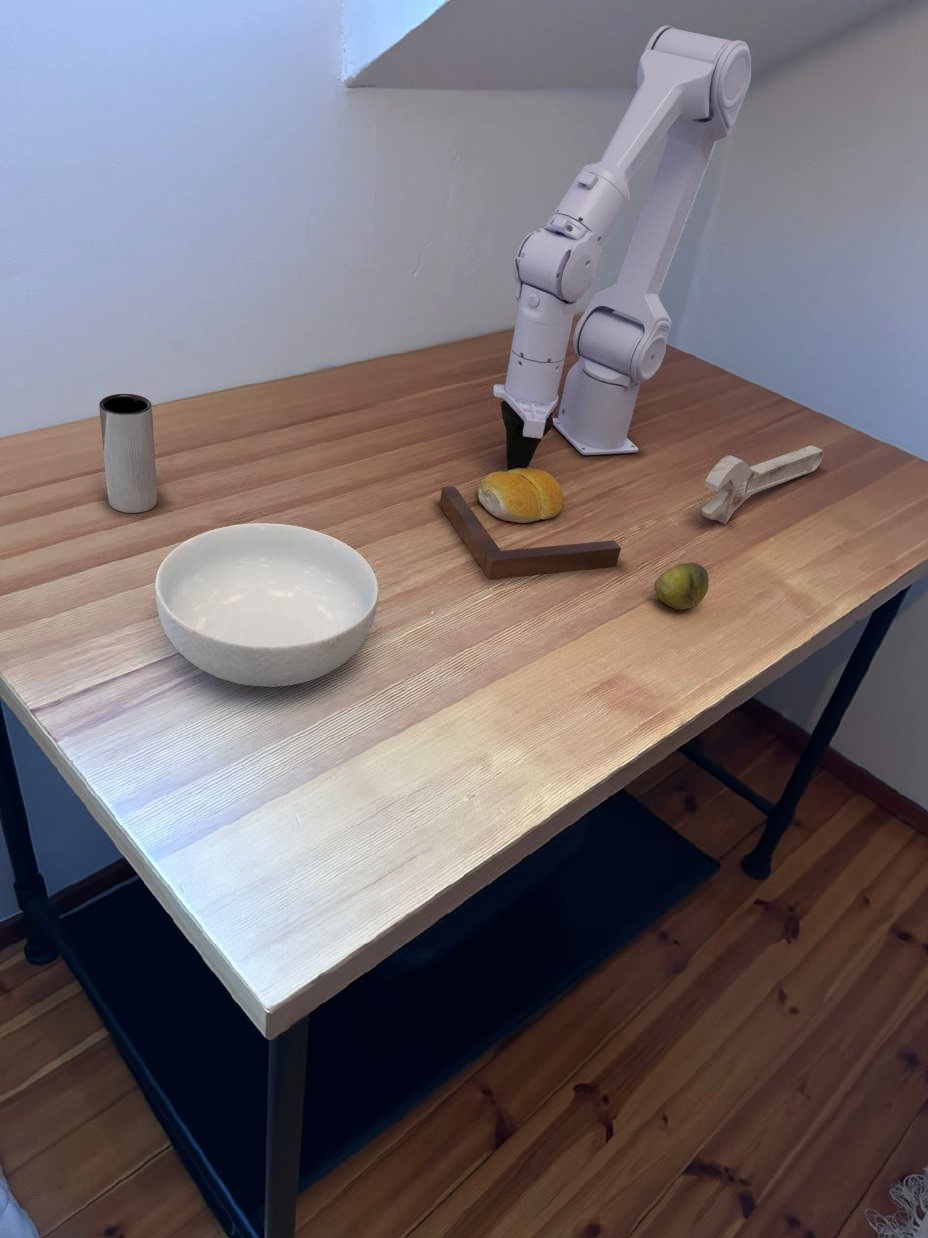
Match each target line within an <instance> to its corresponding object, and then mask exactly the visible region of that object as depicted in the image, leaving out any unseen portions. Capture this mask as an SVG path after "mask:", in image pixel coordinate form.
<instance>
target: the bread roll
mask: <svg viewBox="0 0 928 1238" xmlns="http://www.w3.org/2000/svg"><path fill="white" fill-rule="evenodd" d="M477 495H478V501H479V502H480V504H481V505H482V506H483V507H484V508H485V510H486V511H487V512H489V514H491V515H492V516H494V517H496V518H497V519H499V520H502V521H505V522H511V523H519V524H523V523H531V522H532V523H533V522H536V521H540V520H549V519H552V518H554V517H556V516H558V515H559V514H560V512H561V511H562V509H563V505H564V493H563V490H562V487H561V486H560V483H559V482H558V481H557V480H556V478H555V477H554V476H553V475H551V474H550V473H548V472H547V471H545V470H542V469H539V468H538V469H537V468H530V467H528V468H516V469H513V470H508V471H493V472H490V473H488V475H487V476H486V477H484V478H483V480H482V481H481V482H480V484H479V487H478V489H477Z"/></svg>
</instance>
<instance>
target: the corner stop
mask: <svg viewBox="0 0 928 1238" xmlns="http://www.w3.org/2000/svg"><path fill="white" fill-rule="evenodd" d="M439 507H440V508H441V510H442V511H443V513H444V514H445V516H446V517H447V519H448V521H449V522H450V523H451V525H452V527H453V528H454V529H455V531H456V532H457V534H458V535H459V537H460V539H461V540H462V541H463V543H464V544H465V546H466V547H467V548H468V550H469V552H470V554H472V556H473V558H474V560H475V561H476V562H477V564H478V566H479V567H480V568H481V569H482V571H483V572H484V574H485V575H486V577H487V579H488V580H497V579H498V580H499V579H508V578H517V577H525V576H526V577H527V576H537V575H546V574H554V573H565V572H572V571H573V572H575V571H585V570H592V569H602V568H603V569H604V568H611V567H612V568H613V567H616V566H617V564H618V561H619V557H620V554H621V550H622V548H621V546H620V545H619V544H618V542H616V540H614V539H613V540H602V541H601V540H600V541H592V542H581V543H572V544H571V543H570V544H560V545H559V544H558V545H549V546H538V547H528V548H526V547H525V548H517V549H506V550H501V549H500V547H499V546H498V544H496V542H495V540H494V538H493V537H492V536H491V535H490V534H489V532H488V530H487V529H486V528H485V527H484V525H483V524H482V522H481V521H480V519H479V518H478V517H477V515H476V514H475V512H474V511H473V509H472V508H471V507H470V506H469V504H468V503H467V501H466V500H465V498H464V497H463V496H462V494H461V493H460V491H459V490H458V488H456V486H444V487H441V491H440V500H439Z"/></svg>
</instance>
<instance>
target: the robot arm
mask: <svg viewBox="0 0 928 1238" xmlns="http://www.w3.org/2000/svg"><path fill="white" fill-rule="evenodd" d="M750 52H751V51H750V48H749V46H748V44H747V42H745V41H742V40H741V39H740V40H739V39H736V40H730V39H727V38H720V37H716V36H712V35H706V34H702V33H697V32H694V31H693V32H692V31H687V30H682V29H678V28H676V27H674V26H672V25H662V26H661V27H659V28H657V30H655V31H654V33H653V34H652V35H651V36H650V38H649V40H648V41H647V43H646V45H645V48H644V51H643V53H642V54H641V56H640V58H639V62H638V66H637V76H636V77H637V79H636V86H637V87H636V88H637V90H636V93H635V94H634V96H633V98H632V100H631V101H630V104H629V106H628V108H627V109H626V111H625V112H624V115H623V116H622V119H621V120H620V122H619V124H618V126H617V128H616V130H615V132H614V133H613V135H612V137H611V139H610V141H609V143H608V145H607V146H606V149H605V151H604V152H603V153H602V156H601V158H600V160H599V162H595V163H589V164H586V165H584V166H583V167H582V168H581V169H580V171H579V173H577V175H576V177H575V179H574V180H573V182H572V183H571V185H570V186H569V188H568V190H567V191H566V193H564V196H563V197H562V199H561V200H560V202H559V204H558V205H557V206H556V208H555V210H554V212H553V213H552V215H550V218H549V219H548V221H547V222H546V224H545V225H544V227H540V228H539V229H537V230H534V231H531V232H530V233H528V234H527V235H526V236H525V237H524V238H523V240H522V241H521V244H520V245H519V248H518V250H517V253H516V256H515V257H514V258H513V262H512V271H513V273H512V274H513V277H514V279H515V282H516V283H515V284H516V287H515V293H514V298H515V301H516V302H517V303H518V308H517V313H516V320H515V325H514V330H513V337H512V343H511V349H510V354H509V360H508V367H507V372H506V378H505V383H504V384H499V383H496V384H494V385H493V387H492V394H493V397H495V398H499V399H503V400H502V401H500V409H501V410H500V411H501V418H502V421H503V425H504V427H505V433H506V434H505V436H506V437H505V438H506V439H505V440H506V441H505V455H506V457H505V459H506V466H507V470H508V471H510V470H513V469H516V468H529V466H530V464H531V462H532V459H533V457H534V455H535V452H536V450H537V448H538V446H539V445H540V443H541V441H542V440H543V439H544V438H545V436H546V435H547V434H548V433H549V432H550V431H551V429H552V428H553V427H555V428H556V429H557V431H558V432H559V433H560V434H561V435H562V436H564V438H565V439H566V440H567V441H568V442H569V443H570V444H571V445H572V446H573V447H574V448H575V449H576V450H577V451H578V452H579V454H581V455H582V456H598V455H599V456H600V455H617V454H634V453H638V452H639V448H638V446H637V445H635V443H634V442H632V441H631V440H630V439H629V438H628V433H629V430H630V427H631V422H632V418H633V415H634V411H635V407H636V403H637V400H638V395H639V392H640V388H641V384H643V383H645V382H647V381H648V380H650V379H651V378H652V377H654V375H656V373H657V372H658V370H659V369H660V368H661V365H662V363H663V361H664V359H665V355H666V351H667V344H668V343H667V342H668V338H669V334H670V331H671V327H672V325H673V322H672V320H671V318H670V316H669V313H668V312H667V310H666V309H665V306H664V305H663V303H662V302H661V300H660V297H659V296H660V293H661V290H662V288H663V284H664V283H665V279H666V276H667V274H668V271H669V269H670V266H671V263H672V261H673V258H674V256H675V253H676V250H677V248H678V246H679V242H680V240H681V236H682V234H683V233H684V230H685V226H686V224H687V221H688V218H689V216H690V214H691V211H692V208H693V205H694V203H695V200H696V198H697V195H698V192H699V190H700V187H701V184H702V182H703V179H704V177H705V175H706V171H707V169H708V166H709V164H710V161H711V158H712V155H713V153H714V150H715V147H716V145H717V142H718V141H720V140H723V139H725V138H728V137H729V136H730V134H731V132H732V129H733V126H734V124H735V123H736V121H737V118H738V116H739V114H740V113H739V112H740V110H741V107H742V105H743V102H744V100H745V98H746V95H747V92H748V89H749V87H750V85H751V80H752V55H751V53H750ZM665 135H666V137H667V139H666V143H665V145H664V147H663V148H664V149H663V151H662V154H661V157H660V160H659V162H658V164H657V168H656V171H655V172H654V176H653V179H652V182H651V184H650V188H649V190H648V193H647V195H646V198H645V201H644V204H643V207H642V208H641V209H642V210H641V212H640V215H639V218H638V220H637V224H636V226H635V229H634V232H633V235H632V238H631V239H630V242H629V246H628V248H627V251H626V254H625V257H624V260H623V262H622V265H621V268H620V271H619V273H618V277H617V279H616V282H615V283H614V284H613V285H611V286H609V287H606V288H604V289H602V290H600V291H597V292H595V293H593V294H592V295H591V298H590V301H589V303H588V305H587V307H586V309H585V311H584V312H583V314H582V315H581V317H580V319H579V320H578V322H577V324H576V326H575V327H574V331H573V332H574V333H573V335H572V336H573V337H572V345H573V352H574V354H575V356H576V357H578V360H577V361H576V362H575V363H574V364H573V365H572V366H571V368H570V369H569V371H568V372H567V374H566V377H565V380H564V385H563V391H562V396H561V399H560V405H559V410H558V414H557V417H553V411H554V410H555V408H556V407H557V405H558V402H559V393H558V392H559V387H560V384H561V379H562V373H563V368H564V364H565V359H566V354H567V349H568V346H569V345H568V344H569V340H570V336H571V330H572V326H573V321H574V316H575V312H576V306H577V302H578V300H579V299H581V298H582V297H583V296H584V295H585V293H586V292H587V291H588V290H589V288H590V287H591V285H592V283H593V281H594V278H595V276H596V272H597V268H598V264H599V261H600V260H601V258H602V254H603V249H602V245H603V244H604V242H605V241H606V240H607V237H608V236H609V234H610V233H611V231H612V230H613V228H614V227H615V225H616V224H617V222H618V220H619V219H620V217H621V216H622V214H623V213H624V210H625V209H626V207H627V206H628V205H629V203H630V201H631V193H630V188H629V182H630V181H631V180H632V179H633V177H634V176H635V175H636V173H637V172H638V171H639V169H640V168H641V167H642V165H643V164H644V163H645V161H646V160H647V159H648V158H649V156H650V155H651V154H652V152H653V151H654V149H655V148H656V147H657V145H659V143H660V141H661V140H662V139H663V138H664V137H665ZM616 311H617V312H619V313H622V314H625V315H627V316H628V317H632V318H634V319H637V320H638V321H640V322H638V321H635V320H633V319H630V318H627V317H626V316H622V315H620V314H618V313H615V312H616Z"/></svg>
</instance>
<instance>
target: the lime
mask: <svg viewBox="0 0 928 1238" xmlns="http://www.w3.org/2000/svg"><path fill="white" fill-rule="evenodd" d="M709 580H710V579H709V573H708V570H707V568H705V567H704V566H703V565H701V564H699V563H697V562H687V563H680V564H677V565H676V566H673V567H671V568H669V569H668V570H666V571H664V572H663V573H661V575H660V576H659V577H658V578H657V579H656V580H655V582H654V592H655V595H656V596H657V598H658V599H659V600H660V601H661V602H662V603H663V604H665V605H667V606H669V607H671V608H672V609H676V610H686V609H690V608H694V607H695V606H697V605H698V604H700V603H702V601H703V600H704V598H705V596H706V595H707V593H708V591H709V585H710V584H709V583H710V581H709Z"/></svg>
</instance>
